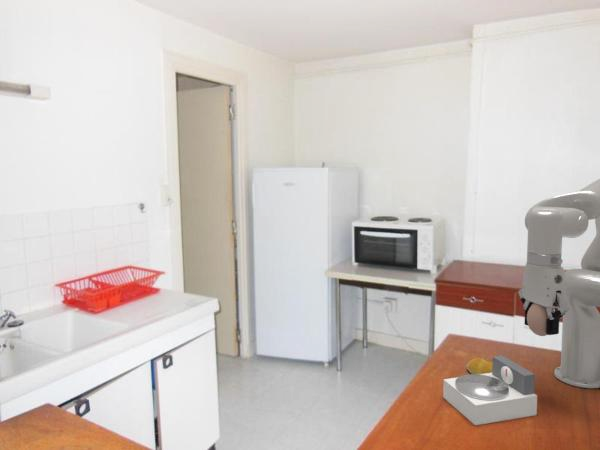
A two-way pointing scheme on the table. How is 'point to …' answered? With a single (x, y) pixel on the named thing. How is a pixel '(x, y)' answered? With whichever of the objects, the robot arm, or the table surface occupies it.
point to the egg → (537, 319)
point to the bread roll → (479, 366)
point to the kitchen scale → (511, 407)
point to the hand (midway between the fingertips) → (541, 328)
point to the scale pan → (482, 387)
